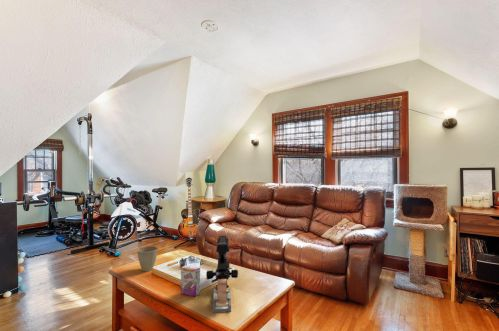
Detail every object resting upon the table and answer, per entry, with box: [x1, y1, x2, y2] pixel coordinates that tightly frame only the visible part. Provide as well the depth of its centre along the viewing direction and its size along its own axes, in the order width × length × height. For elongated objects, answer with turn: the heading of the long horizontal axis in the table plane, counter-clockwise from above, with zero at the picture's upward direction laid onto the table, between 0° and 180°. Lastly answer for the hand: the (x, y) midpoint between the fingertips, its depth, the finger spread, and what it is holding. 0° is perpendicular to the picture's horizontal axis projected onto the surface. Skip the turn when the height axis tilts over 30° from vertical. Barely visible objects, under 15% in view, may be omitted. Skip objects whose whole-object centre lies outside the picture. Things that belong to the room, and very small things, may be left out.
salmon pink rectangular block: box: [216, 279, 228, 306], centre depth 145 cm, size 7×7×12 cm
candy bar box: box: [180, 264, 201, 297], centre depth 159 cm, size 11×5×16 cm, turn 71°
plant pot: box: [137, 245, 159, 272], centre depth 197 cm, size 15×15×16 cm
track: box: [212, 288, 232, 313], centre depth 149 cm, size 20×10×4 cm, turn 5°
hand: (222, 289), depth 148 cm, fingers closed, pressing on salmon pink rectangular block
